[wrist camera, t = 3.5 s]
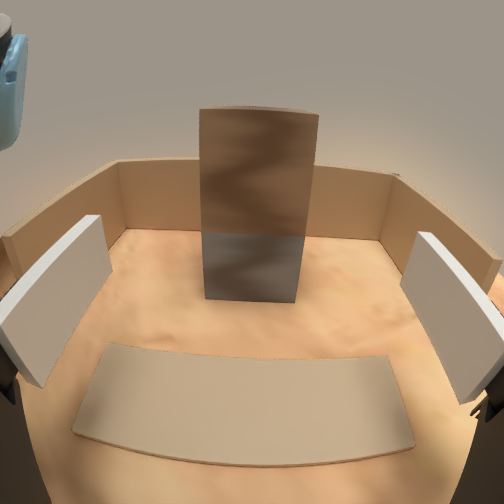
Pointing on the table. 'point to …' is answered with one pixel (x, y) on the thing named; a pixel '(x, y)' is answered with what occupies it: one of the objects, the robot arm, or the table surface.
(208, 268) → the reflective metal box
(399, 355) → the table surface
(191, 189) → the cardboard walls
